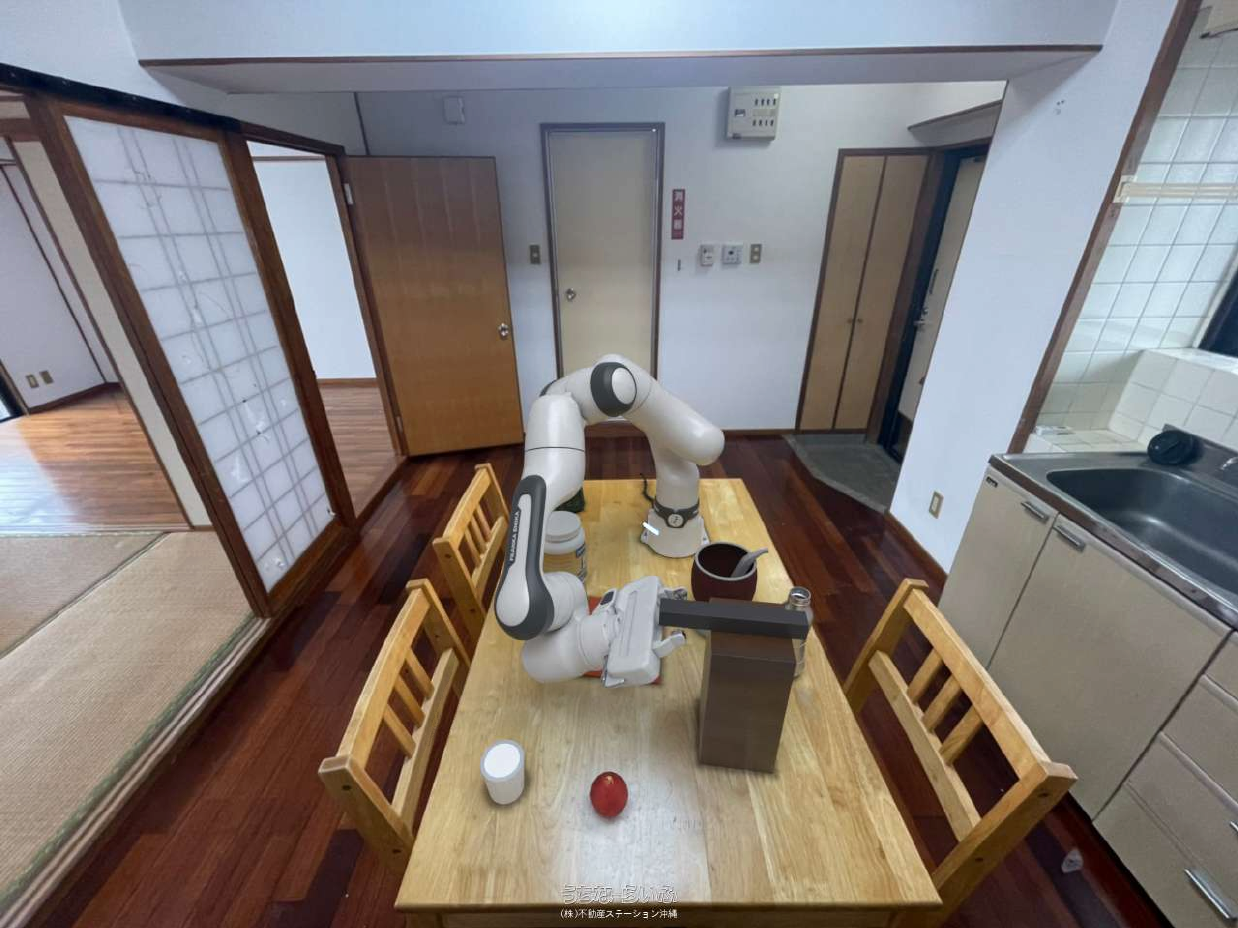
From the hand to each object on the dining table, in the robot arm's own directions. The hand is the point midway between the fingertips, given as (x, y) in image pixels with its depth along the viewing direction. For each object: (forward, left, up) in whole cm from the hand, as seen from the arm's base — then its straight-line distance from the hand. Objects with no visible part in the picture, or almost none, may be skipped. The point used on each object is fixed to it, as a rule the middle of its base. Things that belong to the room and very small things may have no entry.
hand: (685, 612), depth 80 cm
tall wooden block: (0, +10, -28) cm, 29 cm away
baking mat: (-20, -13, -28) cm, 37 cm away
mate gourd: (-28, +9, -28) cm, 41 cm away
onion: (+15, -10, -28) cm, 33 cm away
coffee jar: (-70, -36, -28) cm, 83 cm away
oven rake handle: (0, +7, -2) cm, 7 cm away
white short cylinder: (+14, -27, -28) cm, 41 cm away
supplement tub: (-37, -30, -28) cm, 55 cm away
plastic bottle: (-16, +21, -28) cm, 38 cm away
